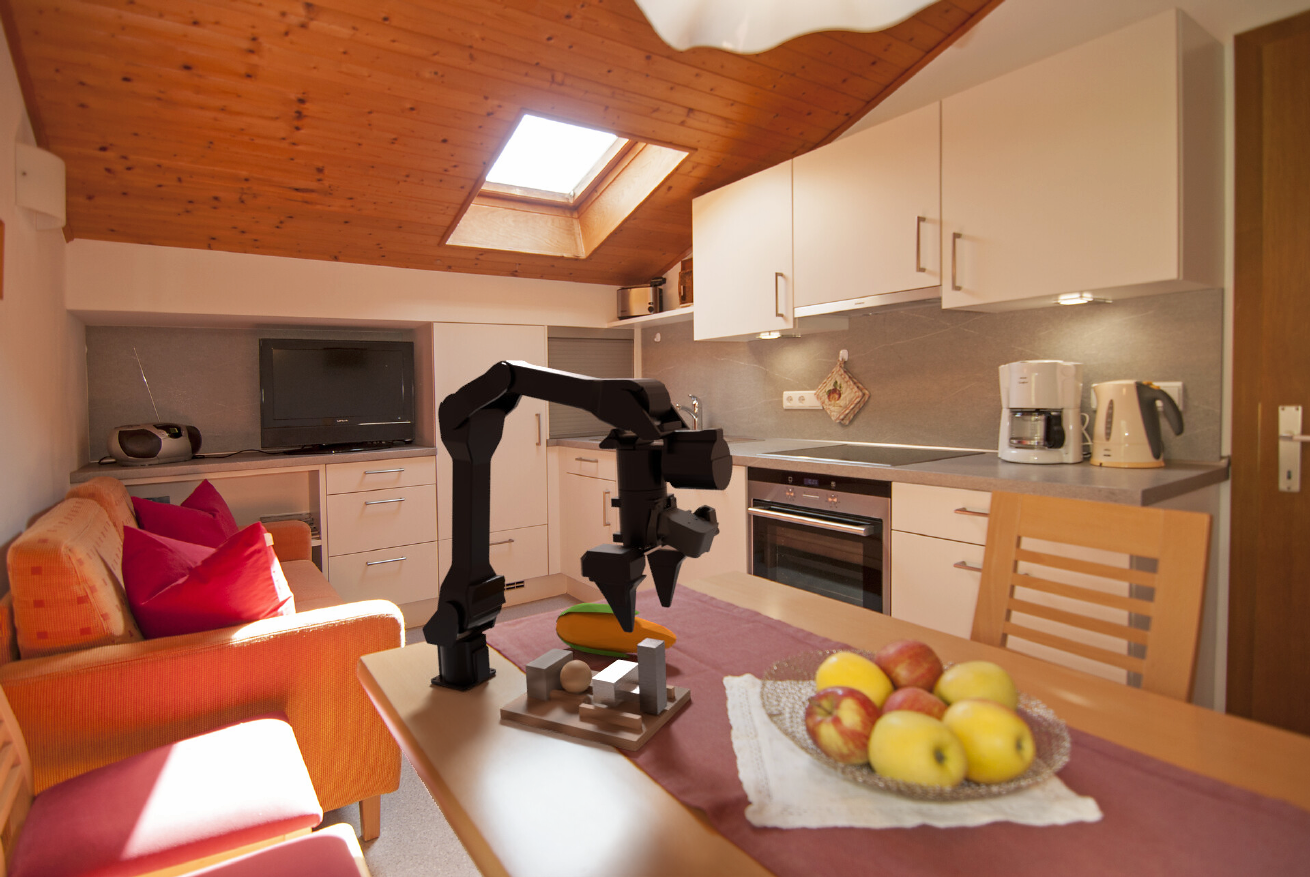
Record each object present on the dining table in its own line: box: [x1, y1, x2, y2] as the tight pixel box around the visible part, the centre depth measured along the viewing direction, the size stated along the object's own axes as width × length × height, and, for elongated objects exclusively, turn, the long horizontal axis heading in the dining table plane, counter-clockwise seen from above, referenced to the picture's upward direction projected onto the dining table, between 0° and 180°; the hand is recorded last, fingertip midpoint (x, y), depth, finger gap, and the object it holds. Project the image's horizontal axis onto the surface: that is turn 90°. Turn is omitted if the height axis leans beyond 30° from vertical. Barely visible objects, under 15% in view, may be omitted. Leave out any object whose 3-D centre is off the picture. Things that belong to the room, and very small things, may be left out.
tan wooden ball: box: [560, 659, 592, 694], centre depth 88 cm, size 4×4×4 cm
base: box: [499, 647, 692, 752], centre depth 87 cm, size 19×14×5 cm
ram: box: [592, 638, 667, 715], centre depth 84 cm, size 8×6×8 cm
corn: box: [555, 602, 677, 659], centre depth 104 cm, size 7×8×20 cm
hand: (648, 618), depth 83 cm, fingers open, 9 cm apart
